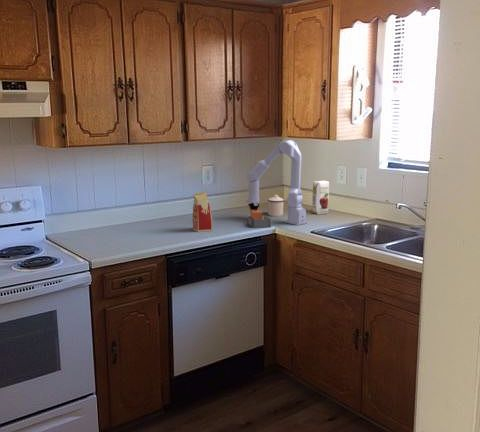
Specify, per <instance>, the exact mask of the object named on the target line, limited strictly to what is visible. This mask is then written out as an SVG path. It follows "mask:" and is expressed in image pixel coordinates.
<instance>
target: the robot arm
mask: <svg viewBox="0 0 480 432" xmlns="http://www.w3.org/2000/svg"><path fill="white" fill-rule="evenodd" d="M281 154H285V155H287V157H289V158H290V159H291V161H290V162H291V164H290V188H289V189H290V190H289V192H288V196H287V198H286V204H287V220H285V221H284V223H286V224H290V225H295V226H301V225H304V224H307V223H308V222H307V211H306V208H304V207H303V205H302V203H303V202H304V196H303V194H302V193H303V191H302V189H301V184H302V183H301V180H302V179H301V178H302V177H301V176H302V160H303V159H302V153H301V151H300V149H299V147H298V143H296V142H295V141H294V140H293V139H288V140H282V141H281V142H280V143H279V144H277V145H276V146H275V148H274V149H273V150H272V151H271V152H270V153H269V155H268V156H267V157H266V158H265V159H262V160H259V161H257V164H256V165H255V166H254V167H252V170H249V171H248V173H247V174H246V177H247V180H248V199H246V200H245V201H246V202H249V203H247V204H248V207H249V210H259V209H258V208H259V207H260V179H261V178H262V175H263V174H265V173H266V172H267V170H269V168H270V164H271V163H272V162H273V161H275V159H277V157H278V156H279V155H281Z"/></svg>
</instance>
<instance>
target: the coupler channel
mask: <svg viewBox="0 0 480 432" xmlns="http://www.w3.org/2000/svg"><path fill="white" fill-rule="evenodd" d="M247 219H248V220H247V221H248V223H247V224H248V225H249V226H250V228H252V229H254V228H255V229H256V228H257V229H259V228H263V229H264V228H271V218H269V216H268V215H264V217H263V218H262V219H260V220H254V219H253V218H252V217H251V216H250V215H249V216H248V218H247Z"/></svg>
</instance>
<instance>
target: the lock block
mask: <svg viewBox="0 0 480 432" xmlns="http://www.w3.org/2000/svg"><path fill="white" fill-rule="evenodd" d="M249 210H250V209H249ZM249 216H251V217H252V218H253V219H254V220H260V219H263V212H262V211H261V210H260V209H257V210H250V211H249Z"/></svg>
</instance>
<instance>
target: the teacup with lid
mask: <svg viewBox="0 0 480 432" xmlns="http://www.w3.org/2000/svg"><path fill="white" fill-rule="evenodd" d="M267 201H268V211H267V212H268V213H267V214H268V216H270V217H282V216H283V215H284V205H285V204H284V201H285V200H284V198H282V197H280V196H279V195H278V194H274V196H272V197H270V198H268V200H267Z"/></svg>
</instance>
